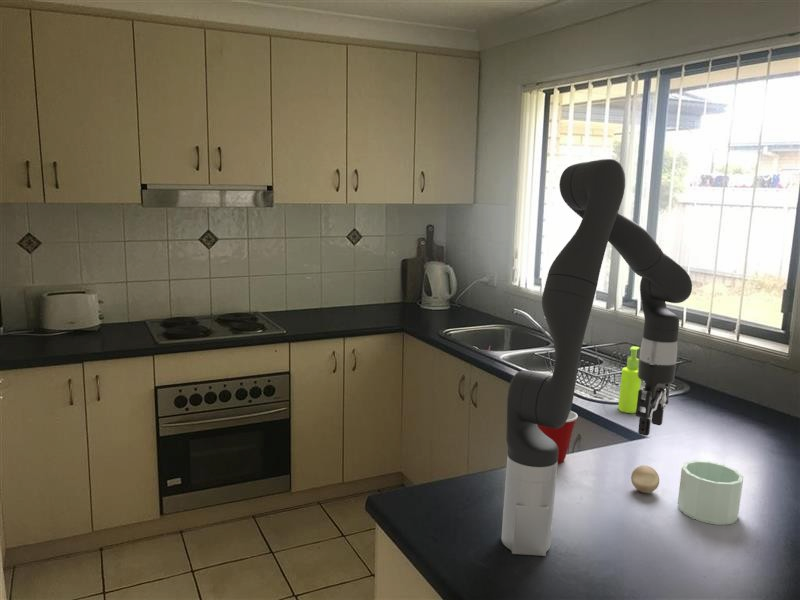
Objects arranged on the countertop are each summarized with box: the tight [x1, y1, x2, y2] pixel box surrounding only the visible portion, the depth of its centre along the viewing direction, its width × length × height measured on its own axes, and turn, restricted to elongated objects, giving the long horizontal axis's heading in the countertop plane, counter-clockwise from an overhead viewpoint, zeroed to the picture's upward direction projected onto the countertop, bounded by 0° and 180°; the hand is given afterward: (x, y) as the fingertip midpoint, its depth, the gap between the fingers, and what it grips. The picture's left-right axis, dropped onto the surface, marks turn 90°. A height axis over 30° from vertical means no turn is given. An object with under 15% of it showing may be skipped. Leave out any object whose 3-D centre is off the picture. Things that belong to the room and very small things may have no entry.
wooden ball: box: [630, 465, 660, 494], centre depth 151 cm, size 6×6×6 cm
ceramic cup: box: [677, 460, 745, 526], centre depth 142 cm, size 12×12×9 cm
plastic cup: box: [536, 410, 579, 464], centre depth 167 cm, size 11×11×12 cm
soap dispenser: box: [617, 345, 642, 414], centre depth 207 cm, size 6×7×20 cm
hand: (650, 429), depth 149 cm, fingers open, 8 cm apart
